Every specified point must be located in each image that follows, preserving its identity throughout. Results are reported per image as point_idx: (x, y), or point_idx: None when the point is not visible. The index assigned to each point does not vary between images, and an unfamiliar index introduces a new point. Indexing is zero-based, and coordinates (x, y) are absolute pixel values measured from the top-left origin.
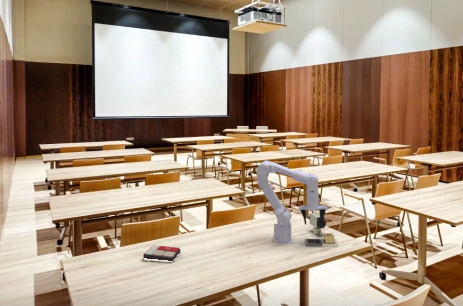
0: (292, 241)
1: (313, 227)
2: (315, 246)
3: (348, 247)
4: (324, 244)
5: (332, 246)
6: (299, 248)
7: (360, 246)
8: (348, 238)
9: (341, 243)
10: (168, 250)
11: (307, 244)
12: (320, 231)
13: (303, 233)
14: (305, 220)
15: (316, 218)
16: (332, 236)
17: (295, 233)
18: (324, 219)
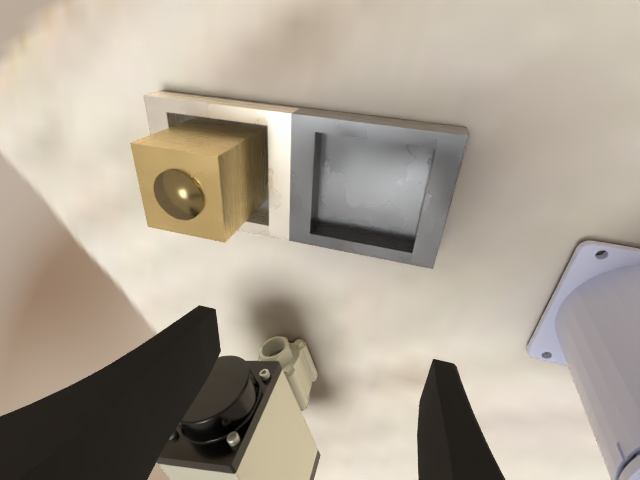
0: (573, 262)
1: (302, 407)
2: (367, 117)
3: (86, 80)
4: (271, 111)
5: (207, 97)
6: (567, 93)
7: (8, 93)
8: (98, 245)
9: None
10: None
11: (454, 132)
12: (262, 352)
13: (388, 384)
14: (459, 426)
15: (243, 465)
16: (148, 144)
17: None
18: None
